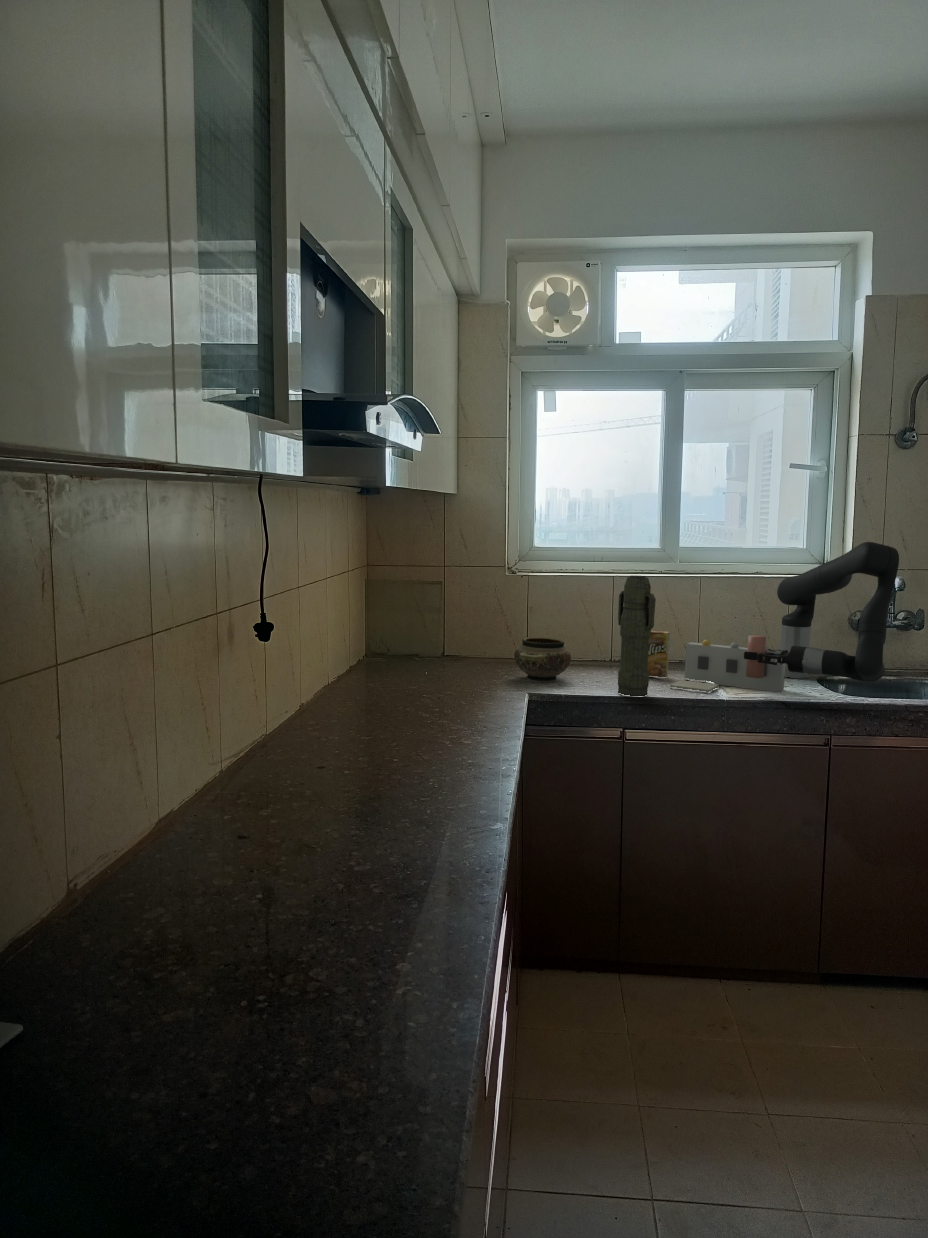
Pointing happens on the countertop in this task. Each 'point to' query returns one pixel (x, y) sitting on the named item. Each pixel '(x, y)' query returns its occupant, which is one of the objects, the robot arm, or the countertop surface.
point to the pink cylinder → (754, 667)
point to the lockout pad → (694, 685)
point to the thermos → (635, 635)
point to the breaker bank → (729, 667)
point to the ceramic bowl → (542, 658)
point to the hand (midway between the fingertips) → (747, 653)
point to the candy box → (658, 653)
